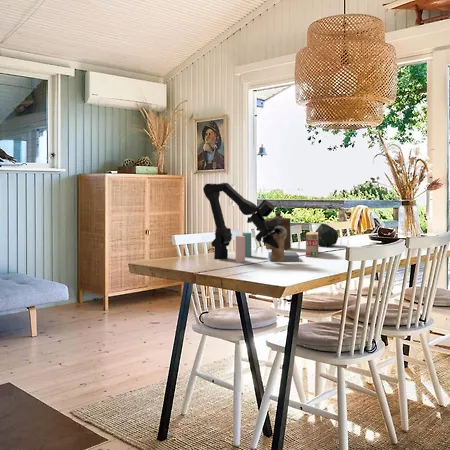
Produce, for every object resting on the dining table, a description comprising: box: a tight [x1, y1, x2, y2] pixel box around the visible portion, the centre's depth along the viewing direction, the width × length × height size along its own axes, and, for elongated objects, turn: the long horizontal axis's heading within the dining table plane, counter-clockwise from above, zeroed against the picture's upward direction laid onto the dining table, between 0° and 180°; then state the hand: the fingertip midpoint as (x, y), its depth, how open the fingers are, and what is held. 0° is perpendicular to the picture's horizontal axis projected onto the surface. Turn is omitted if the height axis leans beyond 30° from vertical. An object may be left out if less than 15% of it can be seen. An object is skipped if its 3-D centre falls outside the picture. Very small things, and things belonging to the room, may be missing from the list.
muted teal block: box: [242, 232, 252, 258], centre depth 291 cm, size 4×4×12 cm
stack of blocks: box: [305, 231, 319, 258], centre depth 299 cm, size 21×6×12 cm, turn 169°
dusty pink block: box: [235, 235, 246, 263], centre depth 271 cm, size 4×4×12 cm
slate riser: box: [267, 251, 300, 262], centre depth 278 cm, size 14×14×3 cm
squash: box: [315, 222, 339, 247], centre depth 341 cm, size 14×15×15 cm
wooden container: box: [265, 211, 292, 251], centre depth 328 cm, size 15×15×22 cm
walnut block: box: [270, 234, 285, 263], centre depth 264 cm, size 4×4×12 cm
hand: (280, 247), depth 263 cm, fingers closed on walnut block, 4 cm apart
